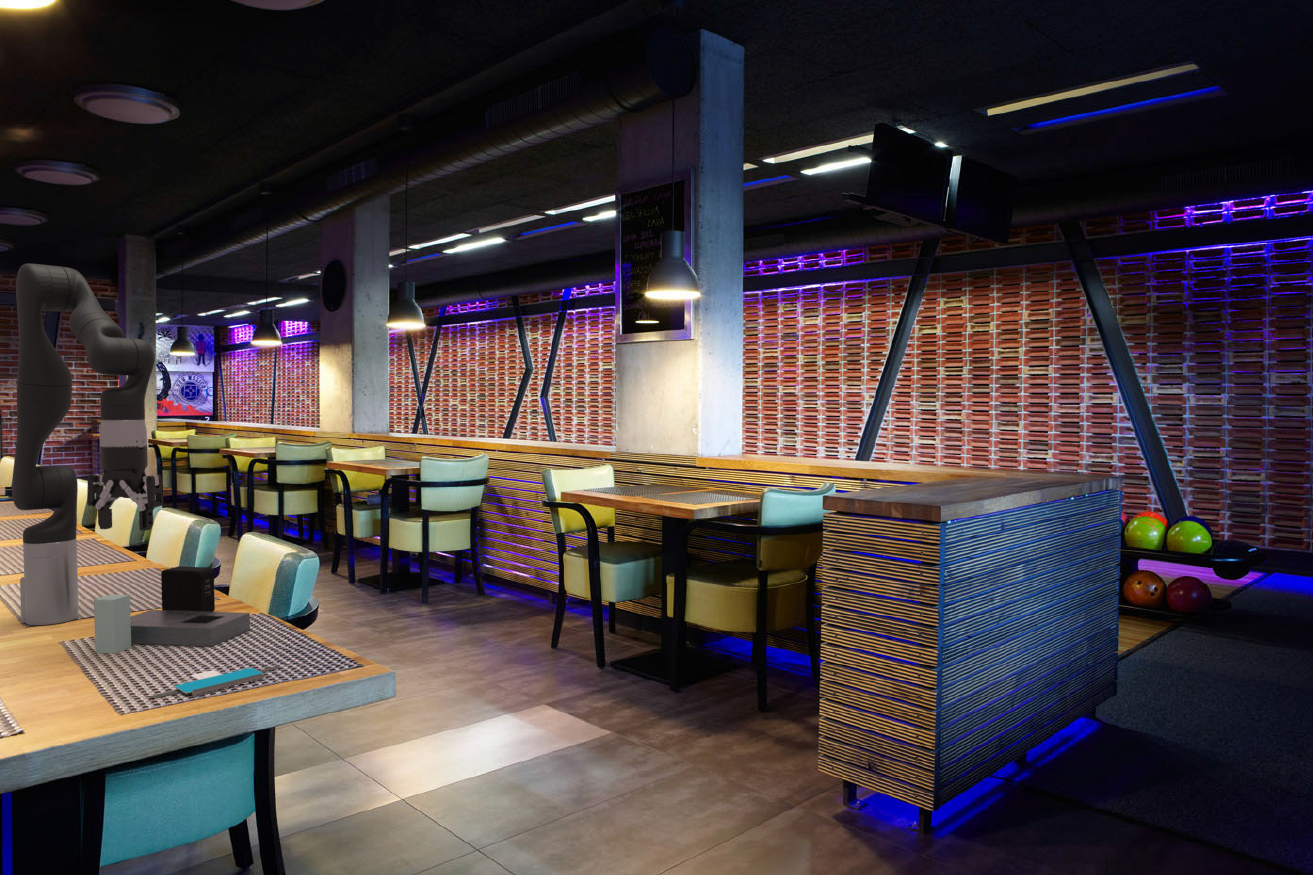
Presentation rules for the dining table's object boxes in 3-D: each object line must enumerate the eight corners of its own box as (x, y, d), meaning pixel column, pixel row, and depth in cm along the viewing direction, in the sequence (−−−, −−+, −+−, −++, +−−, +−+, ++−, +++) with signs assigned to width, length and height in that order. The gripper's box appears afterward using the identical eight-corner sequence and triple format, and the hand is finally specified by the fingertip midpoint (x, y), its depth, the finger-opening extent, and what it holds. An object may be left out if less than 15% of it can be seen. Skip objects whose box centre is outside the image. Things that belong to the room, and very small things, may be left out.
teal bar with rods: (261, 663, 148) (261, 653, 148) (292, 677, 140) (292, 667, 140) (136, 692, 133) (135, 682, 133) (162, 709, 125) (162, 699, 125)
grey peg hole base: (106, 642, 159) (105, 624, 159) (152, 626, 171) (151, 609, 171) (210, 646, 156) (210, 628, 156) (250, 629, 168) (249, 612, 168)
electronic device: (201, 616, 179) (200, 571, 178) (161, 614, 181) (160, 569, 180) (215, 612, 183) (214, 567, 183) (176, 610, 185) (175, 566, 185)
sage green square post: (95, 652, 153) (93, 599, 152) (112, 646, 157) (110, 594, 156) (114, 653, 152) (113, 600, 152) (131, 647, 156) (129, 595, 156)
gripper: (73, 444, 152) (76, 531, 153) (141, 445, 150) (143, 533, 151) (107, 442, 160) (109, 525, 160) (172, 443, 157) (174, 527, 158)
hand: (125, 529), depth 156 cm, fingers open, 8 cm apart
